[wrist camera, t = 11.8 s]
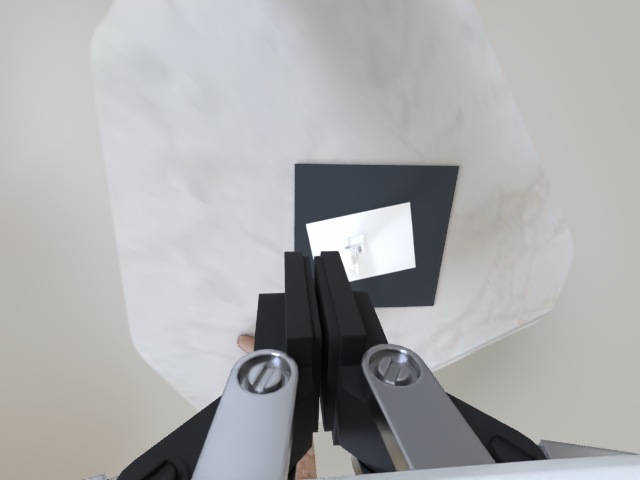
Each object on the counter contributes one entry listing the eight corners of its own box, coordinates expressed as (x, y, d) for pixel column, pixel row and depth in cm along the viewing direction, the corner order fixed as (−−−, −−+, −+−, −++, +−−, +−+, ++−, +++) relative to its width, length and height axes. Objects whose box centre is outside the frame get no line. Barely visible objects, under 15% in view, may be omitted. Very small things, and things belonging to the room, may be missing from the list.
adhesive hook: (336, 236, 34) (341, 249, 31) (362, 230, 34) (370, 243, 31) (341, 263, 35) (346, 279, 32) (367, 258, 35) (374, 273, 32)
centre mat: (295, 163, 31) (295, 164, 31) (458, 166, 32) (459, 166, 32) (294, 309, 37) (294, 309, 37) (432, 305, 38) (433, 305, 38)
